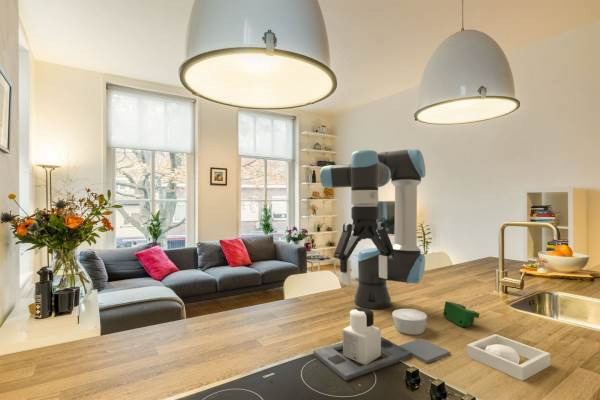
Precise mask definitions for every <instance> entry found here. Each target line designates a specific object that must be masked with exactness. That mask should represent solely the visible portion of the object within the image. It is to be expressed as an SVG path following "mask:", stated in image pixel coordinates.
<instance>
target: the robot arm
mask: <svg viewBox="0 0 600 400" xmlns="http://www.w3.org/2000/svg"><path fill="white" fill-rule="evenodd" d="M425 177H426V164H425V160H424V156H423V153H422V152H421V150H420V149H418V148H417V149H401V150H391V151H390V150H389V151H383V152H382V151H381V152H377V150H370V149H363V150H356V151H353V152H352V153H351V157H350V161H349V162H344V163H339V164H334V165H331V164H329V165H324V166H323V167H322V168H321V169H320V171H319V181H320V184H321V185H322V186H323V188H326V189H334V188H339V189H340V188H350V190H351V191H350V192H351V193H350V195H351V196H350V204H351V205H352V207H351V216H350V217H351V219H352V224H351V223H346V222H345V223H343V225H342V232H341V235H340V237H339V240H338V243H337V246H336V249H335V251H334V253H333V257H334V258H335V259H338V260H339V267H340V268H339V269H340V270H339V271H340V273H341V278H342V279H341V281H342V284H343V285H346V286H351V285H352V284H351V282H352V280H351V270H352V269H351V260H350V257H351V255H352V253H353V252H354V250H355V249H356V247H357V246H358V244H359V242H361V241H362V240H366V239H367V240H368V239H370V240H371V241H372V243H373V244H374V246H375V247H371V248H364V249H361V250H360V251H359V252H358V254H357V255H358V256H357V257H358V258H357V263H358V264H357V268H358V269H357V274H358V278H357V279H358V284H357V288H356V293H355V294H354V304H355V305H357V306H358V307H360V308H367V309H374V310H375V309H386V308H388V307H390V306H391V304H392V299H391V296H390V293H389V290H388V286H387V281H389V282H398V283H406V284H413V285H414V284H415V285H417V284H419V283H420V282H421V281H422V280H423V279H422V278H423V275H424V273H425V268H426V267H425V265H426V256H425V254H423V253H421V251H422V250H421V248H419V246H418V245H417V241H418V240H417V237H418V235H417V234H418V233H417V231H418V230H417V229H418V227H417V224H418V217H417V216H418V208H417V206H418V186H419V185H420V184H421V183H422V178H425ZM389 182H390V183H391V184H392V185H393V186H394V242H393V243H394V244H392V242H391V239H390V235H389V234H388V231H387V226H386V222H385V221H378V219H379V217H380V216H379V215H380V214H379V207H378V206H377V205H378V204H379V188H381V187H384V186H386V185H387V184H388V183H389Z"/></svg>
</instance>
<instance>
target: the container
mask: <svg viewBox="0 0 600 400" xmlns="http://www.w3.org/2000/svg"><path fill="white" fill-rule="evenodd" d="M374 324H375V322H374V312H373V310H371V309H370V308H365V307H355V308H352V309H351V310H350V311H349V326H346V327H344V328H342V342H343V349H342V352H343V353H342V355H343V356H344V357H346V358H347V359H349V360H353V361H355V362H356V363H359V364H361V365H363V366H364V365H367V364H370V363H373V362H374V361H375V360H377V359H378V358H379V357H381V355H382V353H381V337H382V334H381V333H382V332H381V328H380V327H377V326H375V325H374Z"/></svg>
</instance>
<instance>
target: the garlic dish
mask: <svg viewBox="0 0 600 400" xmlns="http://www.w3.org/2000/svg"><path fill="white" fill-rule="evenodd" d="M494 344H501V345H505V346H509V347H511V348H513V349H515V350H516V351H517V353H518V354H519V357H523V358H526V359H528V360H526V361H525V362H523V363H520V364H517V363H514V362H512V361H510V360H507V359H505V358H502V357H500V356H497V355H495V354H492V353H490V352H488V351H485V349H486V347H487V345H488V346H490V345H494ZM466 357H467V358H470V359H472V360H475V361H477V362H478V363H481V364H483V363H484V364H483V365H485V364H486V365H485V366H488V367H490V368H492V369H495V370H497V371H499V372H501V373H504V374H505V375H509V376H510V377H512V378H515V379H517V380H519V381H522V382H523V381H525V380H527V379H529V378H531V377H532V376H534V375H536V374H538V373H540V372H541V371H543V370H545V369H547V368H548V367H551V353H550V352H549V351H548V352H547V351H545V350H542V349H539V348H537V347H533V346H531V345H528V344H525V343H521V342H520V341H516V340H514V339H510V338H508V337H505V336H502V335H499V334H497V333H494V334H491V335H489V336H485V337H483V338H480V339H478V340H476V341H473V342H470V343H468V344H466Z"/></svg>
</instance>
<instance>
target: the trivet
mask: <svg viewBox="0 0 600 400" xmlns="http://www.w3.org/2000/svg"><path fill="white" fill-rule="evenodd" d="M398 346H400V347H402V348H404V349H406V350H408V351H410V352H411V353H412V357H413V358H415V359H417V360H419V361H421V362H423V363H425V364H429V363H432V362H434V361H437V360H439V359H443V358H445V357H447V356H450V355H451V351H450V350H448V349H446V348H443V347H441V346H440V345H437V344H434V343H432V342H430V341H428V340H426V339H424V338H418V339H415V340H412V341H409V342H406V343H402V344H398Z"/></svg>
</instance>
